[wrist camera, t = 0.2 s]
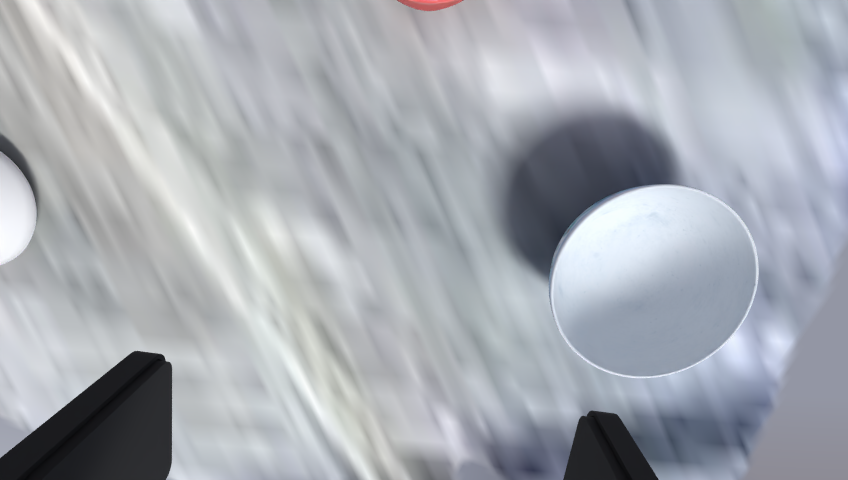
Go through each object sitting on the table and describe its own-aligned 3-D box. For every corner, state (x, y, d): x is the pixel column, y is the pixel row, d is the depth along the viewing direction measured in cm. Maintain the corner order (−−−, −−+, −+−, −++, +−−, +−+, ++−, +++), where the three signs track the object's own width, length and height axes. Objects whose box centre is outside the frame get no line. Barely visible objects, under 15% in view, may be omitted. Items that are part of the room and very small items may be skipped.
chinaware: (734, 250, 42) (801, 280, 34) (607, 363, 45) (643, 413, 37) (620, 133, 39) (666, 138, 32) (494, 261, 42) (508, 293, 35)
